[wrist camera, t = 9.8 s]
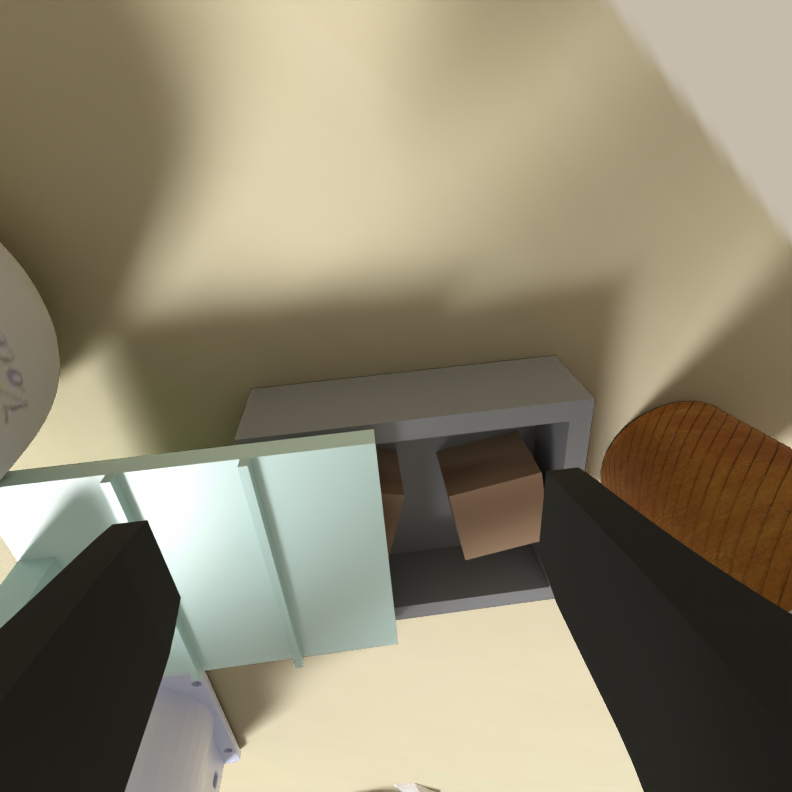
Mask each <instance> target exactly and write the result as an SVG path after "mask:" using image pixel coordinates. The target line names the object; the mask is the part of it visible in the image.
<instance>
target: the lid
mask: <svg viewBox="0 0 792 792" xmlns="http://www.w3.org/2000/svg"><path fill="white" fill-rule="evenodd" d="M143 520H148V523H149V525H150V527H151V530H152V532H153V534H154V537H155V539H156V541H157V543H158V546H159V548H160V550H161V553H162V555H163V557H164V560H165V562H166V564H167V567H168V569H169V571H170V573H171V576H172V578H173V580H174V583H175V585H176V587H177V590H178V592H179V594H180V597H181V600H180V605H179V611H178V616H177V622H176V627H175V632H174V637H173V641H172V646H171V651H170V655H169V659H168V662H167V665H166V668H165V671H164V675H163V676H170V675H177V674H185V673H190V676H191V678H192V680H193V682H196V681H201V679H202V675H203V671H206V670H213V669H221V668H228V667H235V666H242V665H250V664H257V663H264V662H271V661H278V660H286V659H293V661H294V664H295V668H296V667H303V660H304V657H307V656H315V655H322V654H329V653H336V652H343V651H351V650H358V649H365V648H372V647H379V646H387V645H394V644H398V638H397V629H396V620H395V611H394V603H393V594H392V585H391V576H390V567H389V559H388V550H387V541H386V532H385V523H384V515H383V506H382V497H381V488H380V479H379V471H378V462H377V453H376V444H375V435H374V429H370V430H361V431H353V432H344V433H336V434H327V435H318V436H310V437H301V438H292V439H284V440H275V441H267V442H258V443H249V444H241V445H232V446H223V447H215V448H206V449H197V450H189V451H180V452H172V453H163V454H154V455H146V456H137V457H128V458H120V459H111V460H103V461H94V462H85V463H77V464H68V465H59V466H51V467H42V468H34V469H25V470H16V471H8V472H7V473H6V474H5V475H4V477H3V478H2V479H1V480H0V535H1V536H2V538H3V539H4V541H5V542H6V544H7V546H8V547H9V549H10V550H11V552H12V553H13V555H14V556H15V558H16V560H17V561H18V562H17V563H16V565H15V566H14V568H13V569H12V570H11V572H10V573H9V574H8V576H7V577H6V578H5V580H4V581H3V583H2V584H1V585H0V628H1V627H2V626H3V625H4V624H5V623H6V622H7V621H9V620H10V619H11V618H12V617H13V616H14V615H15V614H16V613H17V612H18V611H19V610H20V609H21V608H22V607H24V606H25V605H26V604H27V603H28V602H29V601H30V600H31V599H32V598H33V597H34V596H35V595H36V594H37V593H39V592H40V591H41V590H42V589H43V588H44V587H45V586H46V585H47V584H48V583H49V582H50V581H51V580H52V579H53V578H54V577H56V576H57V575H58V574H59V573H60V572H61V571H62V570H63V569H64V568H65V567H66V566H67V565H68V564H69V563H70V562H71V561H72V560H73V559H75V558H76V557H77V556H78V555H79V554H80V553H81V552H82V551H83V550H84V549H85V548H86V547H87V546H88V545H90V544H91V543H92V542H93V541H94V540H95V539H96V538H97V537H98V536H99V535H100V534H102V533H103V532H104V531H105V530H106V529H107V528H109V527H110V526H111V525H112V524H119V523H127V522H135V521H143Z"/></svg>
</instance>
